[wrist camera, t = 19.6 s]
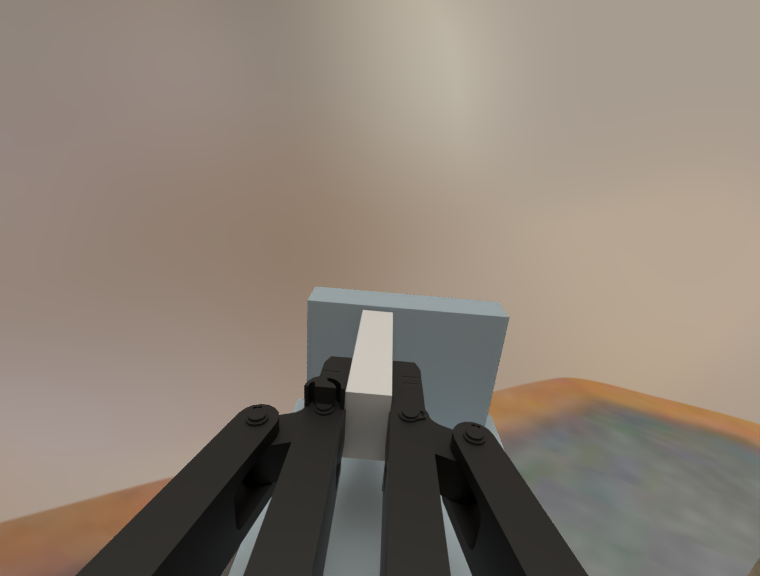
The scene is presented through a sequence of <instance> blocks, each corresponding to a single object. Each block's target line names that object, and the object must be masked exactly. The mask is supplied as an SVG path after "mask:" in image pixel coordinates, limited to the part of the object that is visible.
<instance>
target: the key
mask: <svg viewBox="0 0 760 576" xmlns="http://www.w3.org/2000/svg"><path fill="white" fill-rule="evenodd" d="M748 576H760V557H759V559H758V560H757V562H756V564H755V565H754V567H753V568H752V570H751V571H750V573H749V574H748Z"/></svg>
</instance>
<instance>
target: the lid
mask: <svg viewBox="0 0 760 576" xmlns="http://www.w3.org/2000/svg"><path fill="white" fill-rule="evenodd" d="M363 310H370V311H382V312H393V347H392V361H403V362H415V364H416V365H417V366H418V367H419V369H420V371H421V379H422V387H423V395H424V403H425V410H426V411H427V412H428V414H429V416H430V418H431V419H432V420H433V421H434V422H436V423H438V424H440V425H442V426H444V427H447V428H450V429H454V427H455V426H456V425H457V424H458V423H462V422H474V423H478V424H481V425H482V426H484V427H486V428H487V429H489V430H490V431H491V433H492V434H493V435H494V436H495V438H496V439H497V441H498V442H499V444H500V445H501V447H502V448H503V445H502V443H501V440H500V437H499V435H498V432H497V430H496V427H495V425H494V422H493V419H492V417H491V415H488V411H489V406H490V402H491V397H492V393H493V388H494V384H495V379H496V374H497V370H498V366H499V362H500V357H501V352H502V348H503V344H504V339H505V335H506V330H507V326H508V321H509V316H508V315H507V313H506V312H505V311H504V309H503V308H502V307H501V305H500V304H499V303H498V302H492V301H480V300H469V299H457V298H445V297H433V296H422V295H410V294H398V293H386V292H373V291H362V290H350V289H338V288H326V287H315V289H314V290H313V292H312V294H311V295H310V297H309V299H308V319H307V329H308V330H307V381H308V380H310V379H312V378H314V377H317V376H320V373H321V371H322V367H323V365H324V362H325V361H326V360H327V359H329V358H330V357H331V356H337V357H348V358H353V355H354V350H355V345H356V340H357V336H358V331H359V326H360V321H361V316H362V312H363ZM303 408H304V399H297V402H296V405H295V407H294V410H293V412H292V413H294V412H297V411H300V410H302V409H303ZM503 450H504V448H503ZM504 451H505V450H504ZM384 465H385V461H376V460H365V459H354V458H343V457H342V459H341V473H340V478H339V484H338V490H337V496H336V502H335V508H334V514H333V520H332V526H331V532H330V537H329V543H328V549H327V555H326V561H325V567H324V573H323V576H380V554H381V528H382V501H383V491H382V484H383V474H384ZM440 497H441V504H442V512H443V519H444V527H445V534H446V542H447V549H448V557H449V564H450V572H451V576H472V574H471V572H470V569H469V567H468V564H467V562H466V559H465V557H464V554H463V552H462V549H461V547H460V544H459V542H458V539H457V537H456V534H455V531H454V529H453V526H452V524H451V521H450V519H449V516H448V514H447V511H446V509H445V506H444V504H443V501H442V496H441V495H440ZM270 500H271V498H270ZM270 500H269V501H268V503H267V504H266V506H265V508H264V509H263V511H262V512H261V514H260V515H259V517H258V518H257V520H256V521H255V523H254V525H253V526H252V528H251V529H250V531H249V532H248V534H247V535H246V537H245V538H244V540H243V541H242V543H241V545H240V548H239V550H238V553H237V555H236V558H235V560H234V563H233V565H232V568H231V571H230V573H229V576H243V575H244V572H245V569H246V567H247V564H248V561H249V558H250V555H251V553H252V550H253V547H254V544H255V542H256V539H257V536H258V533H259V531H260V528H261V525H262V522H263V519H264V517H265V514H266V511H267V508H268V506H269V503H270Z"/></svg>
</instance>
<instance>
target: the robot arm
mask: <svg viewBox="0 0 760 576" xmlns="http://www.w3.org/2000/svg"><path fill="white" fill-rule="evenodd" d="M392 347H393V312H382V311H370V310H363V312H362V316H361V321H360V326H359V331H358V336H357V340H356V345H355V350H354V355H353V358H348V357H337V356H331V357H330V358H329V359H327V360H326V361H325V362H324V365H323V367H322V371H321V373H320V376H317V377H314V378H312V379H310V380H308V381H307V383H306V384H305V386H304V408H303V409H302V410H300V411H297V412H294V413H290V414H283V415H279V412H278V411H277V410H276V409H275V408H274V407H272V406H270V405H264V404H259V405H252V406H250V407H247V408H245V409H244V410H242V411H241V412H239V413H238V414H237V415H236V416H235V417H234V418H233V419H232V420H231V421H230V422H229V423H228V424H227V425H226V426H225V427H224V428H223V429H222V430H221V431H220V432H219V433H218V434H217V435H216V436H215V437H214V438H213V439H212V440H211V441H210V442H209V443H208V444H207V445H206V446H205V447H204V448H203V449H202V450H201V451H200V452H199V453H198V454H197V455H196V456H195V457H194V458H193V459H192V460H191V461H190V462H189V463H188V464H187V465H186V466H185V467H184V468H183V469H182V470H181V471H180V472H179V473H178V474H177V475H176V476H175V477H174V478H173V479H172V480H171V481H170V482H169V483H168V484H167V485H166V486H165V487H164V488H163V489H162V490H161V491H160V492H159V493H158V494H157V495H156V496H155V497H154V498H153V499H152V500H151V501H150V502H149V503H148V504H147V505H146V506H145V507H144V508H143V509H142V510H141V511H140V512H139V513H138V514H137V515H136V516H135V517H134V518H133V519H132V520H131V521H130V522H129V523H128V524H127V525H126V526H125V527H124V528H123V529H122V530H121V531H120V532H119V533H118V534H117V535H116V536H115V537H114V538H113V539H112V540H111V541H110V542H109V543H108V544H107V545H106V546H105V547H104V548H103V549H102V550H101V551H100V552H99V553H98V554H97V555H96V556H95V557H94V558H93V559H92V560H91V561H90V562H89V563H88V564H87V565H86V566H85V567H84V568H83V569H82V570H81V571H80V572H79V573H78V574H77V575H76V576H220V575H221V574H222V572H223V571H224V569H225V568H226V566H227V565H228V563H229V561H230V560H231V558H232V557H233V555H234V554H235V552H236V551H237V549H238V548H239V546H240V545H241V543H242V541H243V540H244V538H245V537H246V535H247V534H248V532H249V531H250V529H251V528H252V526H253V525H254V523H255V521H256V520H257V518H258V517H259V515H260V514H261V512H262V511H263V509H264V508H265V506H266V504H267V503H268V501H269V500H270V498H271V500H270V503H269V506H268V508H267V511H266V514H265V517H264V519H263V522H262V525H261V528H260V531H259V533H258V536H257V539H256V542H255V544H254V547H253V550H252V553H251V555H250V558H249V561H248V564H247V567H246V569H245V572H244V575H243V576H323V573H324V567H325V561H326V555H327V549H328V543H329V537H330V532H331V526H332V520H333V514H334V508H335V502H336V496H337V490H338V484H339V478H340V473H341V459H342V457H343V458H354V459H365V460H376V461H385V465H384V474H383V484H382V491H383V501H382V528H381V554H380V576H451V572H450V564H449V557H448V549H447V542H446V534H445V527H444V519H443V512H442V504H441V497H440V495H441V496H442V501H443V504H444V506H445V509H446V511H447V514H448V516H449V519H450V521H451V524H452V526H453V529H454V531H455V534H456V537H457V539H458V542H459V544H460V547H461V549H462V552H463V554H464V557H465V559H466V562H467V564H468V567H469V569H470V572H471V574H472V576H588V575H587V573H586V572H585V570H584V569H583V567H582V566H581V564H580V563H579V561H578V560H577V558H576V557H575V555H574V554H573V552H572V551H571V549H570V548H569V546H568V545H567V543H566V542H565V540H564V539H563V537H562V536H561V534H560V533H559V531H558V530H557V528H556V527H555V526H554V524H553V523H552V521H551V520H550V518H549V517H548V515H547V514H546V512H545V511H544V509H543V508H542V506H541V505H540V503H539V502H538V500H537V499H536V497H535V496H534V494H533V493H532V491H531V490H530V488H529V487H528V485H527V484H526V482H525V481H524V479H523V478H522V476H521V475H520V473H519V472H518V470H517V469H516V467H515V466H514V464H513V463H512V461H511V460H510V458H509V457H508V456H507V454H506V453H505V451H504V450H503V448H502V447H501V445H500V444H499V442H498V441H497V439H496V438H495V436H494V435H493V434H492V433H491V431H490V430H489V429H487V428H486V427H484V426H482V425H481V424H478V423H474V422H462V423H458V424H457V425H456V426H455V427H454V429H450V428H447V427H444V426H442V425H440V424H438V423H436V422H434V421H433V420H432V419H431V418H430V416H429V414H428V412H427V411H426V410H425V403H424V395H423V387H422V379H421V371H420V369H419V367H418V366H417V365H416V364H415V362H403V361H392Z"/></svg>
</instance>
